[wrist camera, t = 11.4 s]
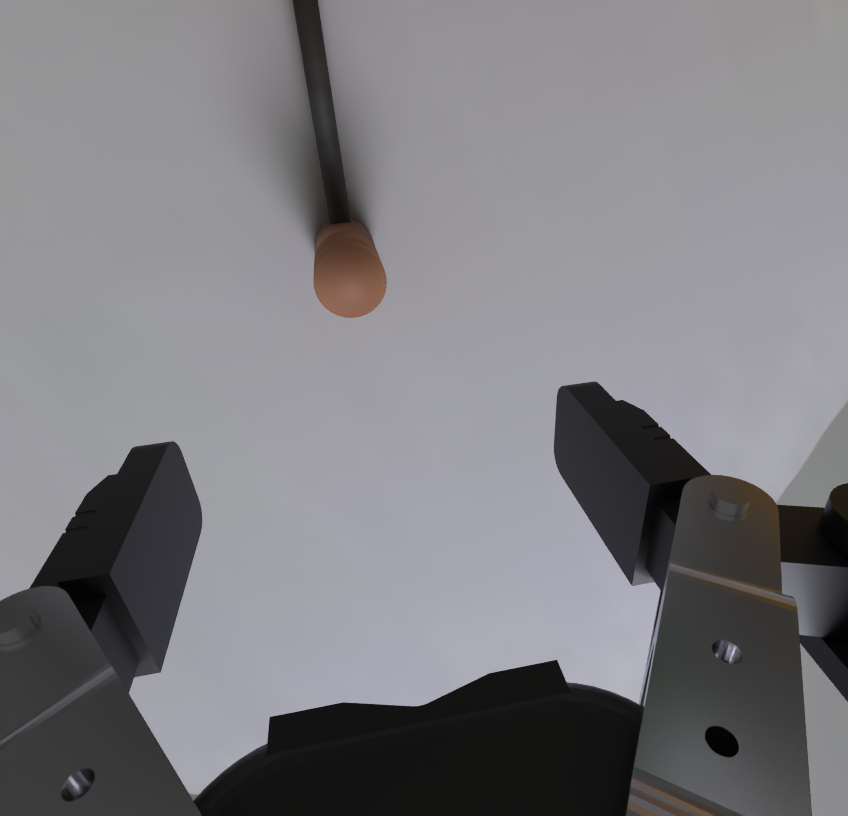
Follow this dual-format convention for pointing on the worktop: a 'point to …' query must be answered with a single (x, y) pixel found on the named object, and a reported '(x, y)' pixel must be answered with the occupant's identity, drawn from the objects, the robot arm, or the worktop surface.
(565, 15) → the worktop surface
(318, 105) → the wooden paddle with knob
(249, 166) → the worktop surface
